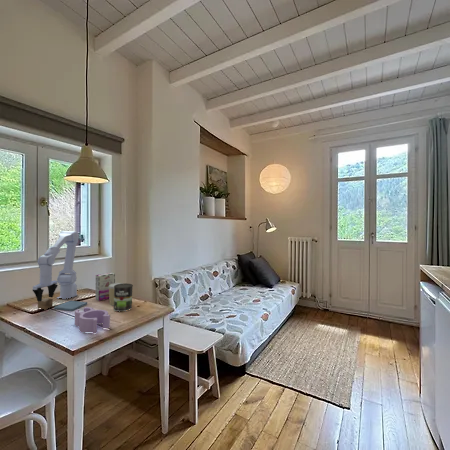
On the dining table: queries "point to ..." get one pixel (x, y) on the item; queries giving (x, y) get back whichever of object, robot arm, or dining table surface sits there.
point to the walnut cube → (45, 303)
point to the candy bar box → (104, 285)
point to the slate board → (70, 305)
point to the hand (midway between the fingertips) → (45, 299)
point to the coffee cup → (112, 293)
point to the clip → (91, 319)
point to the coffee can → (122, 297)
